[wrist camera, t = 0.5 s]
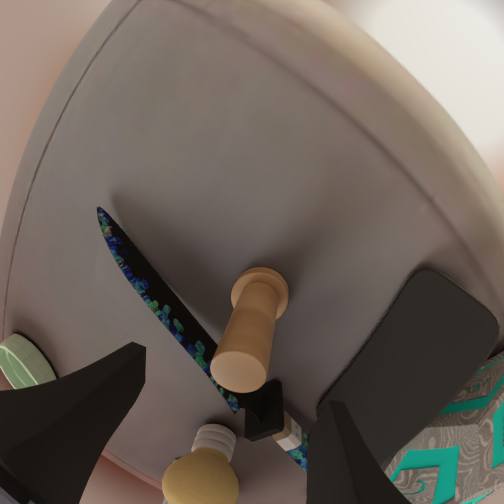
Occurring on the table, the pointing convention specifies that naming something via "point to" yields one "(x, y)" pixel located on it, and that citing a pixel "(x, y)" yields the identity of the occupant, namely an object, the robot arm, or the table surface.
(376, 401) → the smartphone
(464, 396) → the sculpture
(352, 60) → the table surface
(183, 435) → the table surface
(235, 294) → the pestle
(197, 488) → the light bulb
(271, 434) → the knife
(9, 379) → the bowl
